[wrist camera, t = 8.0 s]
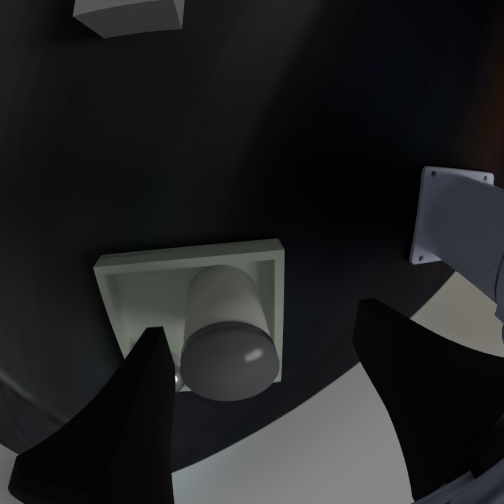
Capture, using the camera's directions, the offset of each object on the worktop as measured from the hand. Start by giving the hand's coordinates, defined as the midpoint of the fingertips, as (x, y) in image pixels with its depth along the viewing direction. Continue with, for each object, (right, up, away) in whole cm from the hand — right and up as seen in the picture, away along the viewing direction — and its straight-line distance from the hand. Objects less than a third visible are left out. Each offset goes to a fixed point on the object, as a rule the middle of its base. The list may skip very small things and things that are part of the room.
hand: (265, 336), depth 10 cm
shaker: (-2, 0, +10) cm, 10 cm away
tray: (-4, -2, +11) cm, 12 cm away
